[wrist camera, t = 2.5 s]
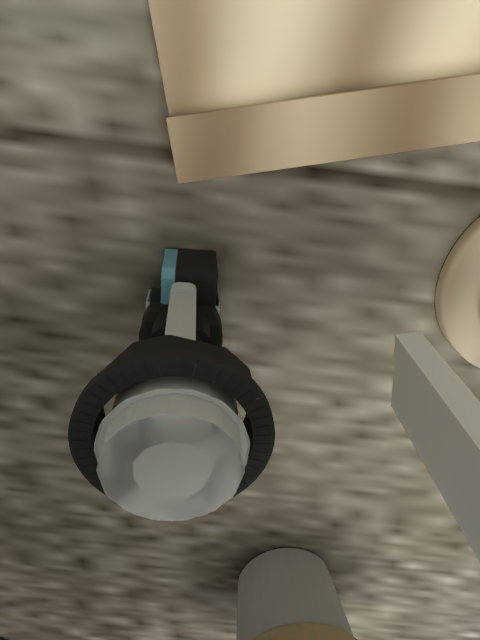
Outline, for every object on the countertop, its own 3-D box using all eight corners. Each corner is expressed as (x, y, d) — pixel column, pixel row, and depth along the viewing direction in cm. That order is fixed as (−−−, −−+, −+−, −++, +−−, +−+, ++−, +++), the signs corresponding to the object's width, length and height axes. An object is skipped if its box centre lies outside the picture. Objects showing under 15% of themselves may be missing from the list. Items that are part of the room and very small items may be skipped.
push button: (235, 376, 22) (261, 573, 13) (123, 372, 21) (70, 577, 12) (250, 244, 19) (296, 384, 10) (120, 235, 18) (46, 376, 9)
